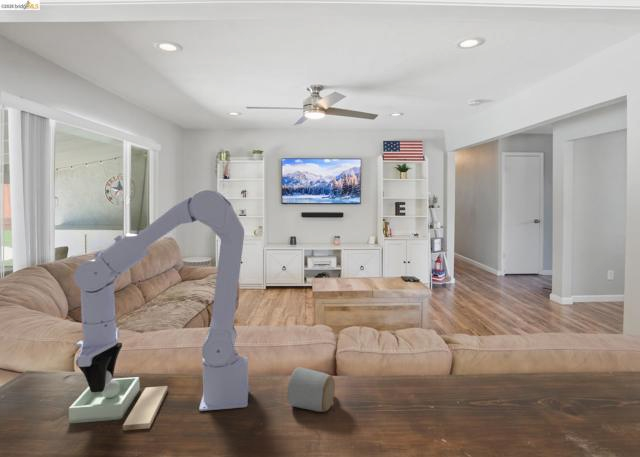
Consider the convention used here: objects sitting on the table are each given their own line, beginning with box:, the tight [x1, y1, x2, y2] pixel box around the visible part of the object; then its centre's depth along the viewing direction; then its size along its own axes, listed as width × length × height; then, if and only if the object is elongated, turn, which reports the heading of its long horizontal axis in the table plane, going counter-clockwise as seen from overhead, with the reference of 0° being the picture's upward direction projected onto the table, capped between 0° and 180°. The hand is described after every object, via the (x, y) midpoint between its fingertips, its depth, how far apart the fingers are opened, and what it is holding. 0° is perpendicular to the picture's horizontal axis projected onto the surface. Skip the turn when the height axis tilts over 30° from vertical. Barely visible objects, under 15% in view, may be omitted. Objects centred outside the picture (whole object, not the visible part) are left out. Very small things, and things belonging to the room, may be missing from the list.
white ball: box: [101, 380, 120, 398], centre depth 80 cm, size 4×4×4 cm
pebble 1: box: [104, 371, 113, 388], centre depth 75 cm, size 4×4×4 cm
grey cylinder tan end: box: [286, 366, 336, 413], centre depth 78 cm, size 11×8×8 cm
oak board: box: [122, 385, 169, 431], centre depth 77 cm, size 5×14×1 cm, turn 9°
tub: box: [68, 376, 141, 424], centre depth 78 cm, size 9×11×3 cm
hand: (101, 386), depth 75 cm, fingers closed on pebble 1, 3 cm apart
